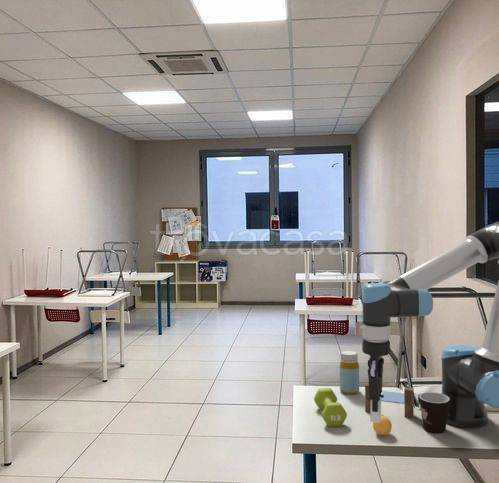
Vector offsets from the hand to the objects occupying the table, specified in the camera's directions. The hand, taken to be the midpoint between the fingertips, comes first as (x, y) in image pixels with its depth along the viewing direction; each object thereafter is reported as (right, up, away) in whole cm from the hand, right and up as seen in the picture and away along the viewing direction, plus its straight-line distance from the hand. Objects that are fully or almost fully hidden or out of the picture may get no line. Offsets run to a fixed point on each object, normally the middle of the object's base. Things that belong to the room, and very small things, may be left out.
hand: (375, 421), depth 138 cm
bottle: (+2, -5, +43) cm, 43 cm away
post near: (+17, -6, +22) cm, 28 cm away
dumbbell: (-9, -7, +23) cm, 25 cm away
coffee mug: (+21, -7, +13) cm, 26 cm away
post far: (+5, -6, +27) cm, 28 cm away
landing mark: (+16, -5, +37) cm, 41 cm away
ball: (+4, -5, +9) cm, 11 cm away
